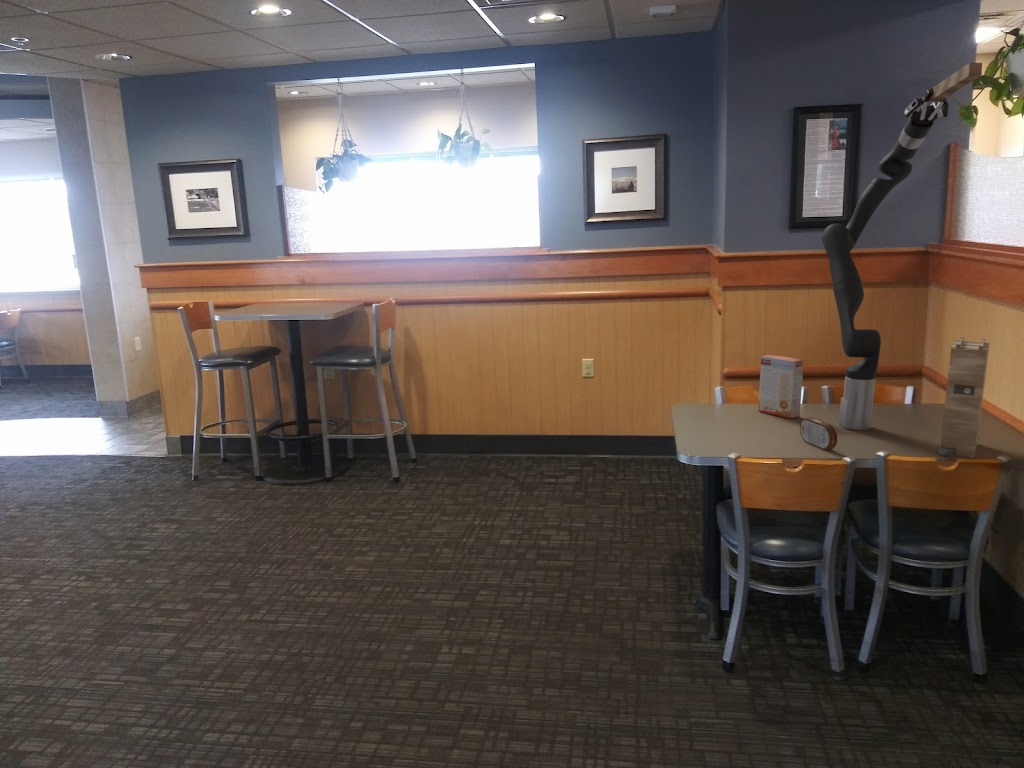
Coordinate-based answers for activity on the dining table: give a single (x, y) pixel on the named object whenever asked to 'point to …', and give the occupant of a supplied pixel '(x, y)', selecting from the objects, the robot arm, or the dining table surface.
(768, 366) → the cracker box
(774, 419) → the dining table surface
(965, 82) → the bar
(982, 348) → the stand
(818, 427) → the tin
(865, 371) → the robot arm
